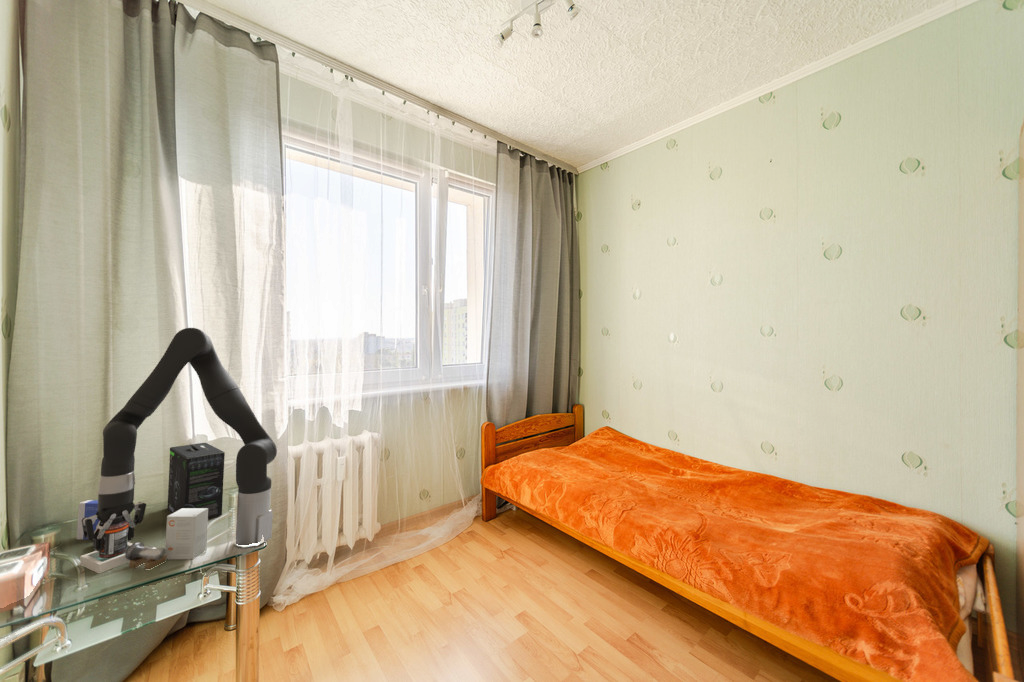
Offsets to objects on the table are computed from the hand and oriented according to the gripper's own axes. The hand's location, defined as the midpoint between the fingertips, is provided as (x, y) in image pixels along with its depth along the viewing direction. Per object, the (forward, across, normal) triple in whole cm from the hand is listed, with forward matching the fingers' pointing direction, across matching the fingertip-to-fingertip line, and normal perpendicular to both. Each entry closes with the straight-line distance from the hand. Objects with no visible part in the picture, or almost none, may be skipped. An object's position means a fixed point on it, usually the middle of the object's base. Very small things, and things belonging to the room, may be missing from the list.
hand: (113, 545), depth 116 cm
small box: (+5, -11, +14) cm, 19 cm away
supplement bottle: (+3, 0, 0) cm, 3 cm away
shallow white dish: (+4, 0, 0) cm, 4 cm away
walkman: (+5, -4, -22) cm, 23 cm away
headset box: (+5, -30, -15) cm, 34 cm away
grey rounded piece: (+5, -3, +11) cm, 13 cm away
